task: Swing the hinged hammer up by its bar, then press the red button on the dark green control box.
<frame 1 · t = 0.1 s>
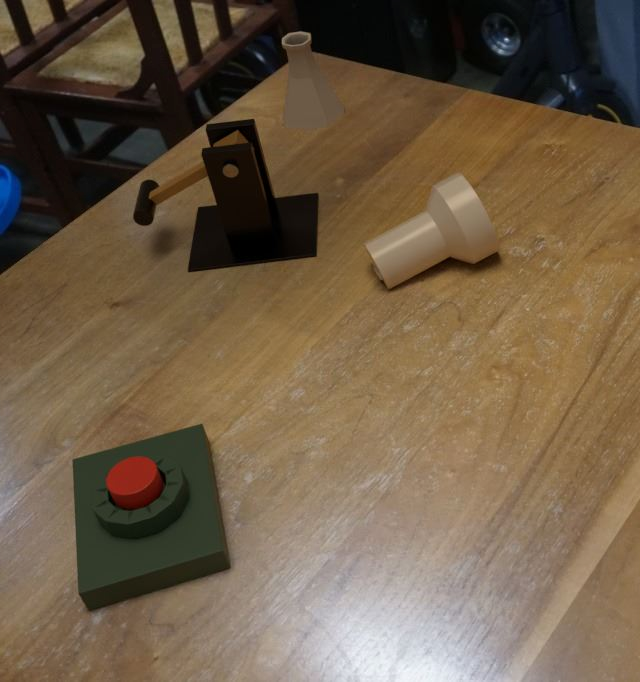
flask: (314, 122, 122), on the table
control box: (153, 521, 82), on the table
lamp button: (135, 482, 79), point 4 cm above the table, slide at 0.1 cm
hammer: (191, 176, 101), point 8 cm above the table, hinge at -25.0°
spotlight: (440, 266, 102), on the table
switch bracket: (257, 239, 107), on the table
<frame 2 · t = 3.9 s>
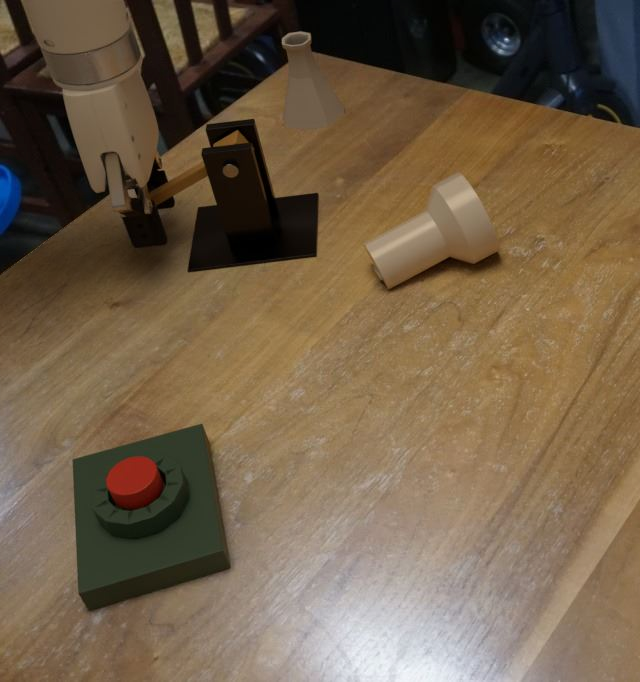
hand: (154, 224, 104), 3 cm above the table, tool pointing down, fingers closed on hammer, 5 cm apart
hammer: (191, 176, 101), point 8 cm above the table, hinge at -25.0°, touching gripper
everything else where it was.
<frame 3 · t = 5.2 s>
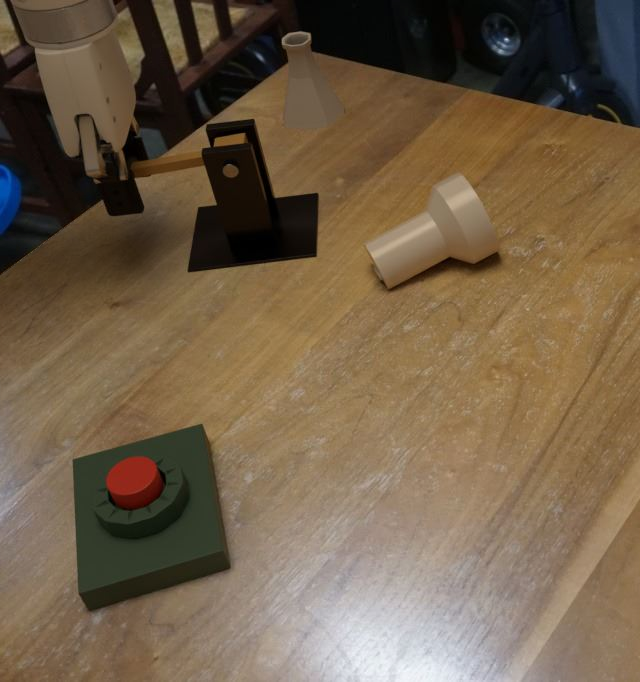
hand: (131, 192, 102), 7 cm above the table, tool pointing down, fingers closed on hammer, 5 cm apart
hammer: (181, 161, 100), point 10 cm above the table, hinge at -3.7°, touching gripper
everything else where it was.
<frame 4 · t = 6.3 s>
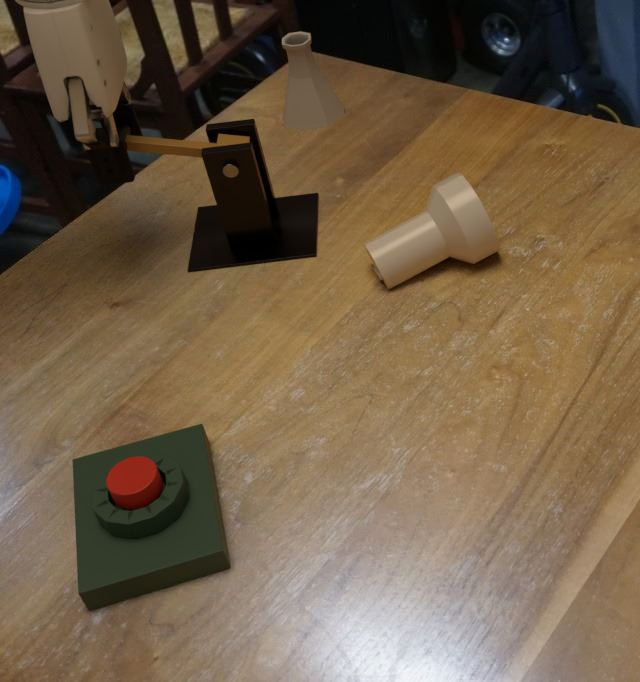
hand: (121, 161, 99), 10 cm above the table, tool pointing down, fingers closed on hammer, 5 cm apart
hammer: (178, 147, 99), point 11 cm above the table, hinge at 14.5°, touching gripper
everything else where it was.
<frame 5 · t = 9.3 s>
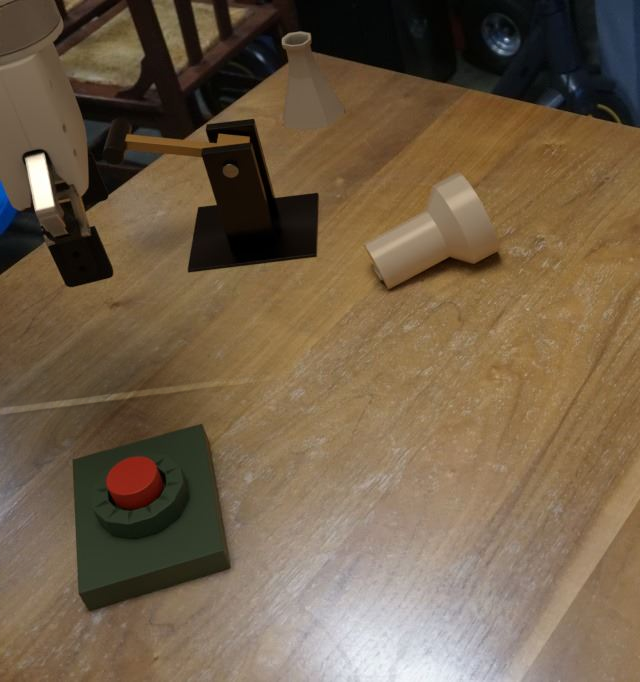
hand: (89, 239, 78), 18 cm above the table, tool pointing down, fingers open, 9 cm apart
hammer: (178, 147, 99), point 11 cm above the table, hinge at 15.0°
everything else where it was.
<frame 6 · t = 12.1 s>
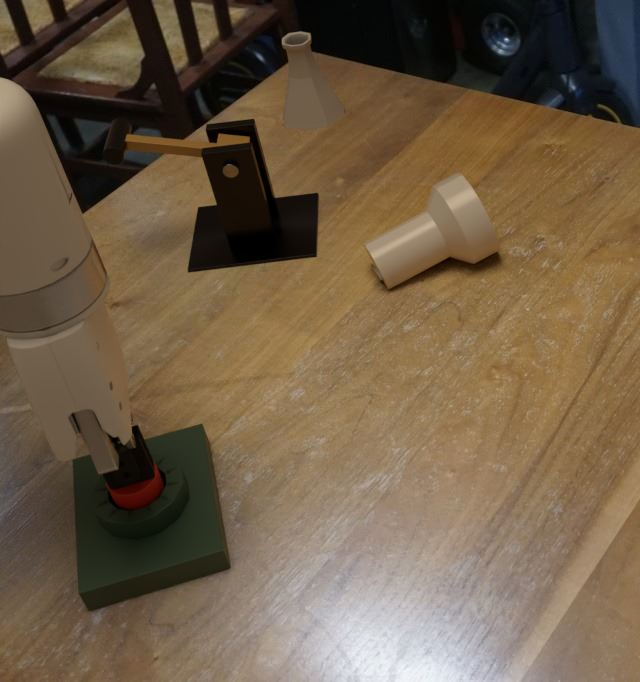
hand: (132, 475, 79), 5 cm above the table, tool pointing down, fingers closed
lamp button: (135, 483, 79), point 4 cm above the table, slide at 0.0 cm, touching gripper
everything else where it was.
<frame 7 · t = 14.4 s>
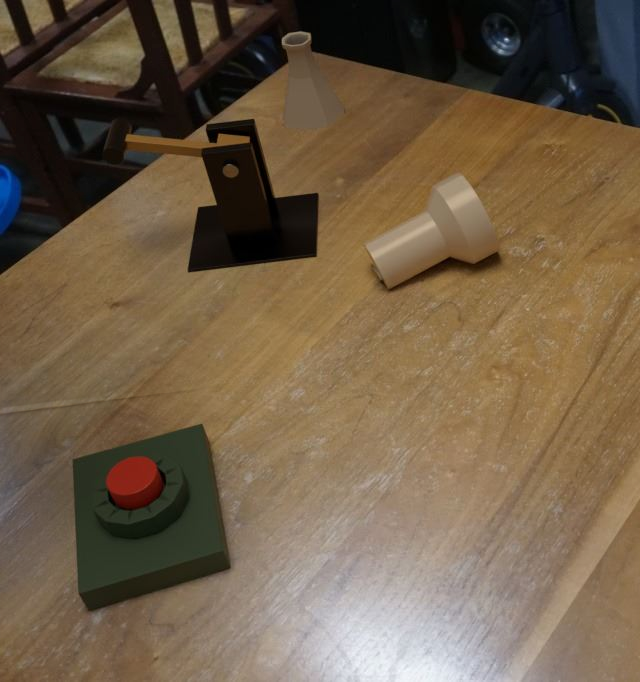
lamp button: (135, 482, 79), point 4 cm above the table, slide at 0.1 cm
everything else where it was.
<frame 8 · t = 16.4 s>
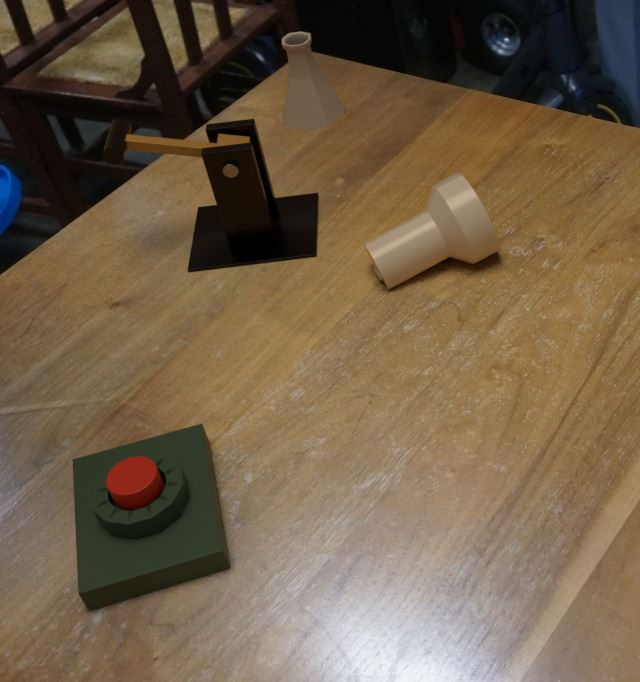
nothing on the table moved.
at the end: hammer at +15° (first picture: -25°); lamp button pushed in 1.1 cm at the most during the clip, back to where it started at the end; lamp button slide at 0.1 cm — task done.
